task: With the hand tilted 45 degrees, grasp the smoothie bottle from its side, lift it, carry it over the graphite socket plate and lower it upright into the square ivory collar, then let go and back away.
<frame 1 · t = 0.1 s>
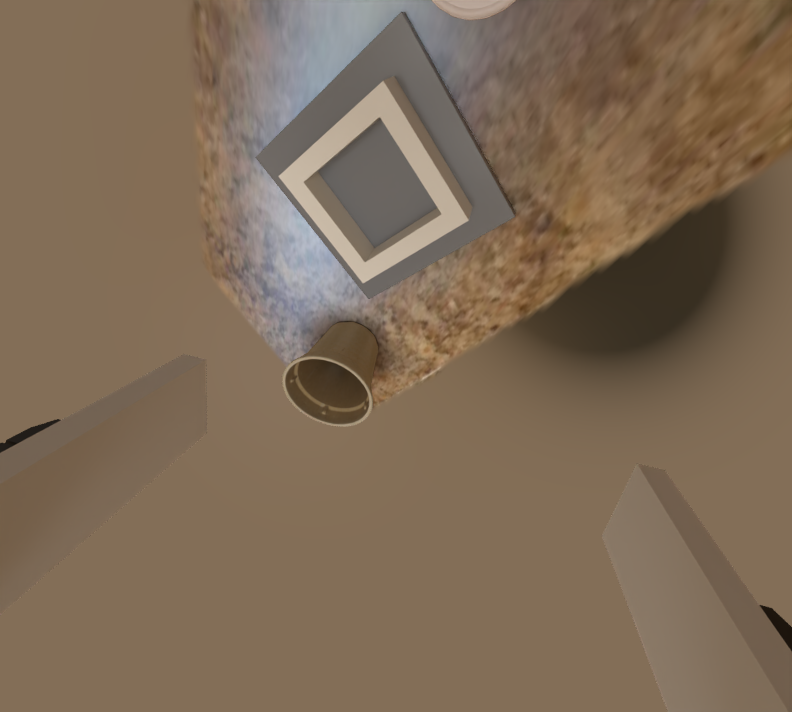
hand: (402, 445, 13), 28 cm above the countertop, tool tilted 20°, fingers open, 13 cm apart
flower pot: (354, 341, 48), on the countertop
socket: (384, 182, 35), on the countertop
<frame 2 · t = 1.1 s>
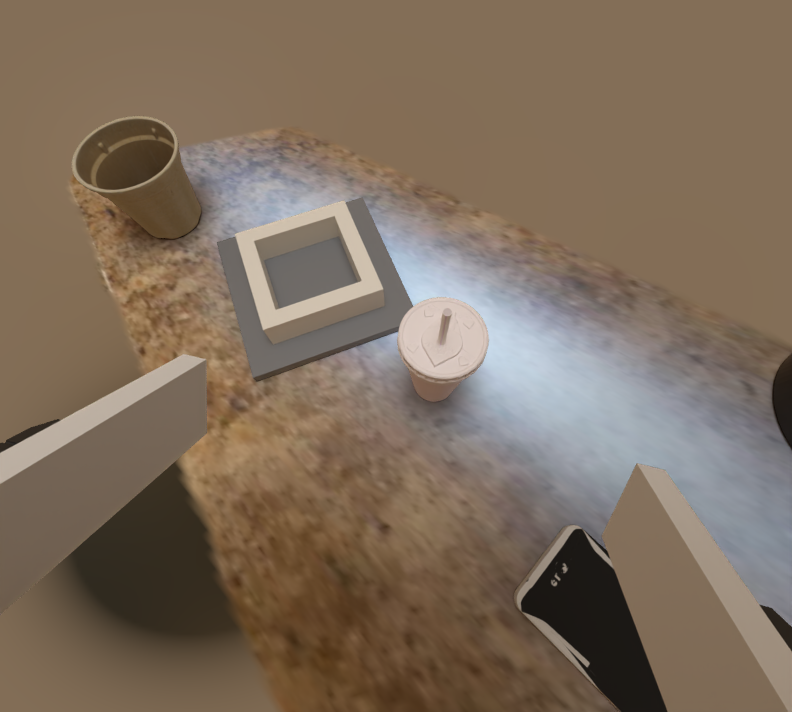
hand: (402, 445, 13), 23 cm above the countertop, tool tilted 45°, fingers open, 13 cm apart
flower pot: (174, 219, 46), on the countertop
socket: (315, 284, 42), on the countertop
smoothie: (433, 382, 38), on the countertop
smartphone: (620, 637, 30), on the countertop
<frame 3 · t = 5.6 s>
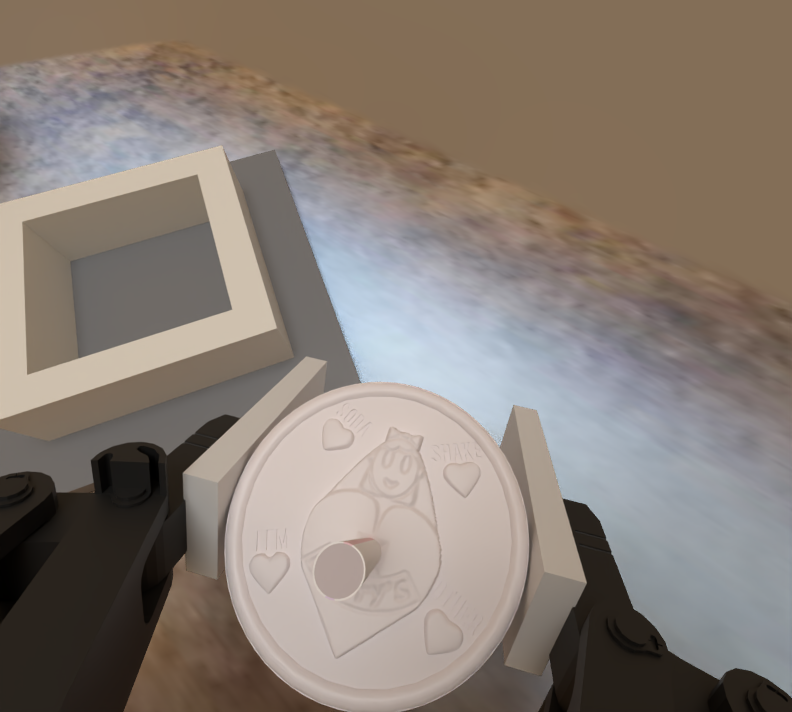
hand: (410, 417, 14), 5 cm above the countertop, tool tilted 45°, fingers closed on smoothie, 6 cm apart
socket: (168, 309, 22), on the countertop
smoothie: (388, 528, 18), on the countertop, touching gripper
when the fingers open (7 cm above the countertop, at t = 10.1 s): smoothie drops 1 cm, resting on socket.
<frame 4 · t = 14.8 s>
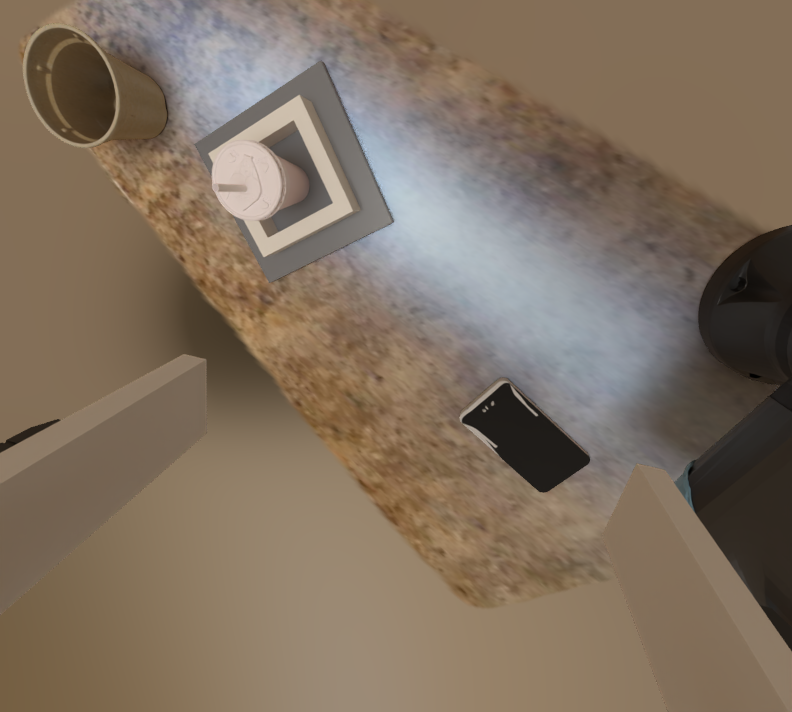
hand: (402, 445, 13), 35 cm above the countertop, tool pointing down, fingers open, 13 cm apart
flower pot: (143, 108, 45), on the countertop
socket: (296, 183, 44), on the countertop
smoothie: (293, 184, 44), point 1 cm above the countertop, touching socket
smartphone: (522, 432, 51), on the countertop
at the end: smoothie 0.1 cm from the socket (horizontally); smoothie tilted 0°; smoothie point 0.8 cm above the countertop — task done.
